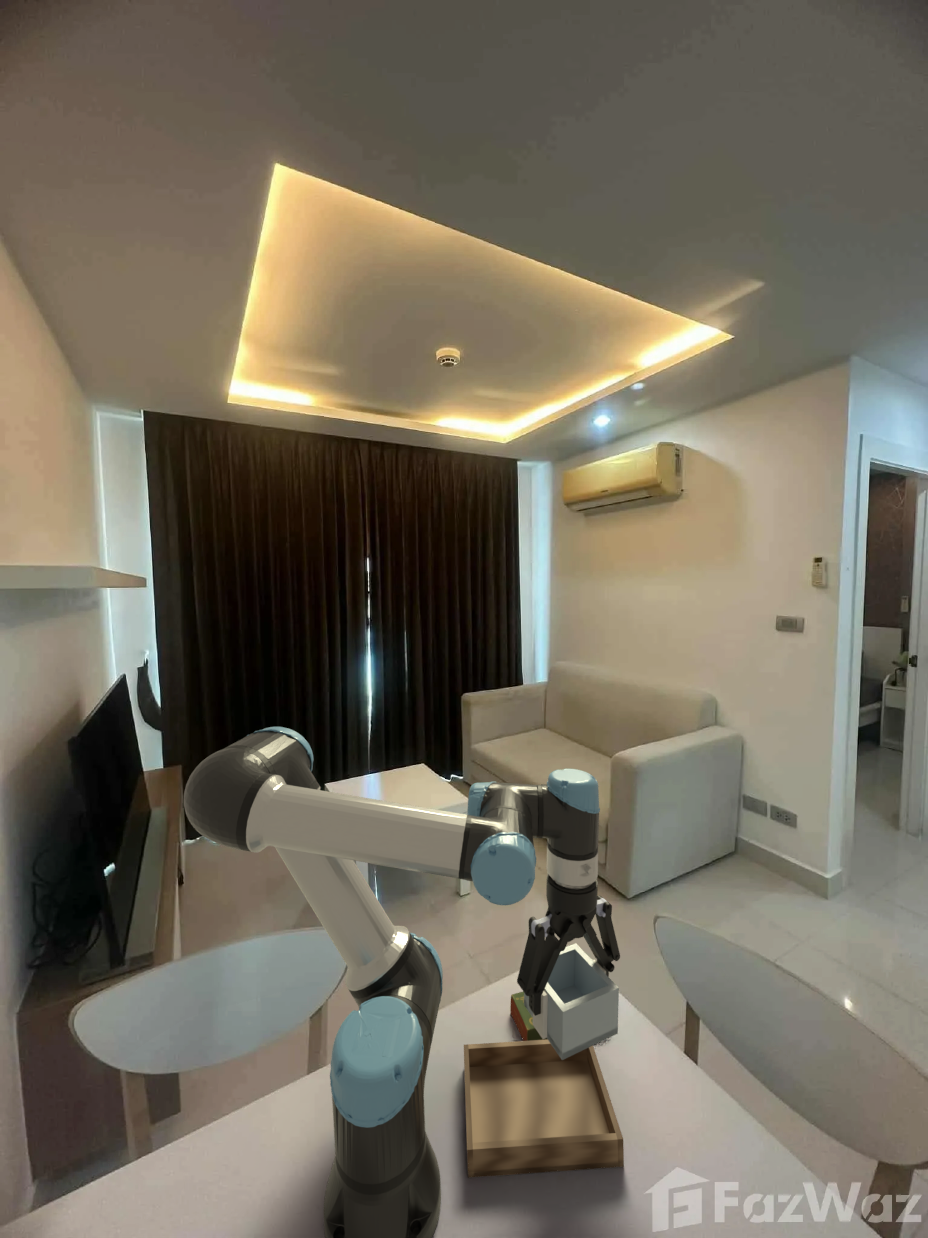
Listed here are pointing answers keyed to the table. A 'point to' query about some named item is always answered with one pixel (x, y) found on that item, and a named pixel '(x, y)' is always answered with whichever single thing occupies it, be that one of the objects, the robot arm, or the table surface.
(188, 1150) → the table surface
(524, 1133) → the crate
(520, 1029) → the carton
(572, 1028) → the small crate
